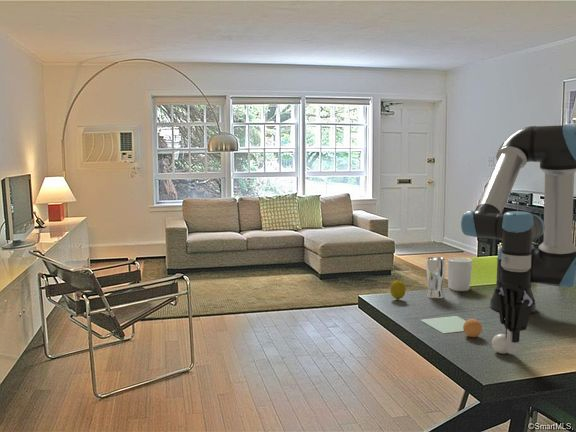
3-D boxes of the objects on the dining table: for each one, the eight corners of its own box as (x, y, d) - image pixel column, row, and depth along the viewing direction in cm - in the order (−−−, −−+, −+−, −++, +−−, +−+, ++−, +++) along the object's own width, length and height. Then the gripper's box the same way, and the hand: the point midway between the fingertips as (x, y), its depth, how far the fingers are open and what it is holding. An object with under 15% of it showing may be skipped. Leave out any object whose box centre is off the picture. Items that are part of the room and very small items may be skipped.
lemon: (405, 302, 207) (405, 281, 206) (390, 301, 208) (390, 280, 207) (405, 298, 213) (405, 278, 212) (390, 297, 214) (390, 277, 213)
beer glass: (434, 300, 211) (435, 261, 209) (421, 295, 217) (423, 257, 215) (448, 297, 214) (449, 259, 212) (435, 293, 220) (436, 256, 218)
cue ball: (504, 349, 161) (504, 330, 160) (517, 354, 155) (517, 335, 155) (487, 351, 159) (487, 332, 159) (500, 357, 154) (500, 337, 154)
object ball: (474, 332, 174) (475, 315, 173) (485, 338, 169) (486, 321, 168) (459, 334, 172) (459, 317, 172) (469, 340, 167) (470, 322, 166)
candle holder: (442, 285, 232) (443, 257, 230) (465, 285, 233) (466, 256, 231) (451, 291, 222) (452, 262, 221) (475, 291, 223) (476, 261, 221)
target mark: (456, 316, 191) (456, 315, 191) (481, 329, 177) (481, 328, 177) (419, 320, 187) (419, 319, 187) (443, 333, 173) (443, 333, 173)
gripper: (488, 264, 156) (485, 345, 159) (521, 275, 144) (517, 362, 147) (510, 262, 158) (506, 342, 161) (544, 272, 146) (540, 358, 149)
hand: (511, 352), depth 154 cm, fingers closed
